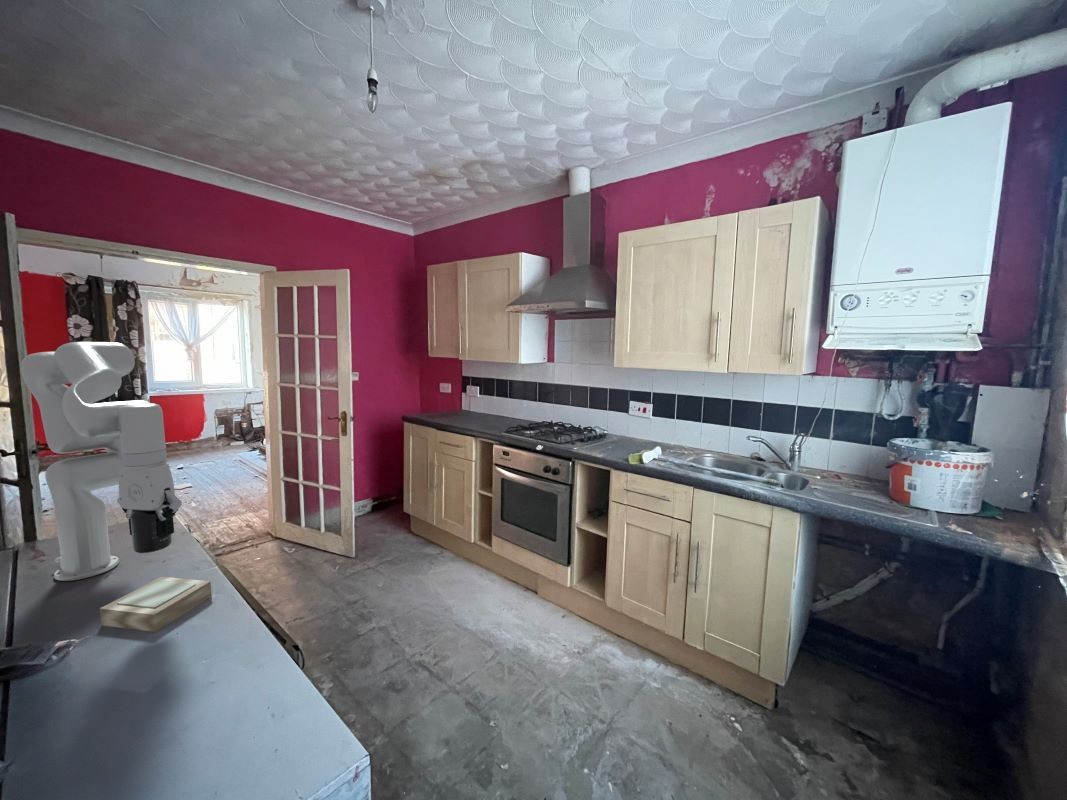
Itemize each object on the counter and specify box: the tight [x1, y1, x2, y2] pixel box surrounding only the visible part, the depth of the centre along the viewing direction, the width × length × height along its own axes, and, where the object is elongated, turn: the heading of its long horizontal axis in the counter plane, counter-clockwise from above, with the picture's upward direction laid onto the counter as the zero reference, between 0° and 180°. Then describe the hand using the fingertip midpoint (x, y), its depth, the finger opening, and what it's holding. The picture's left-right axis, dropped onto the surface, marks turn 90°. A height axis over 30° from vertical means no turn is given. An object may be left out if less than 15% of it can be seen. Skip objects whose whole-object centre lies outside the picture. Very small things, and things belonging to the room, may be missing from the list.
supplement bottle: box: [129, 505, 173, 554], centre depth 102 cm, size 7×7×12 cm
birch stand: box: [99, 576, 213, 633], centre depth 104 cm, size 14×14×4 cm
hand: (152, 533), depth 102 cm, fingers closed on supplement bottle, 6 cm apart
